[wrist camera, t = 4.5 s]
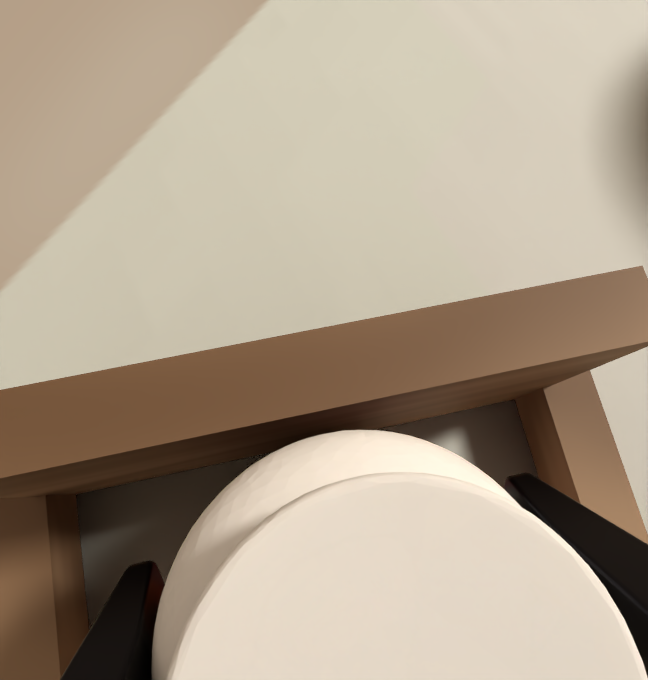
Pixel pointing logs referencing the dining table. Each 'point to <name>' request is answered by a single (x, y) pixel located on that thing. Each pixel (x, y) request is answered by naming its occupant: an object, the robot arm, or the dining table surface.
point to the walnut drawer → (301, 423)
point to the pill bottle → (381, 576)
